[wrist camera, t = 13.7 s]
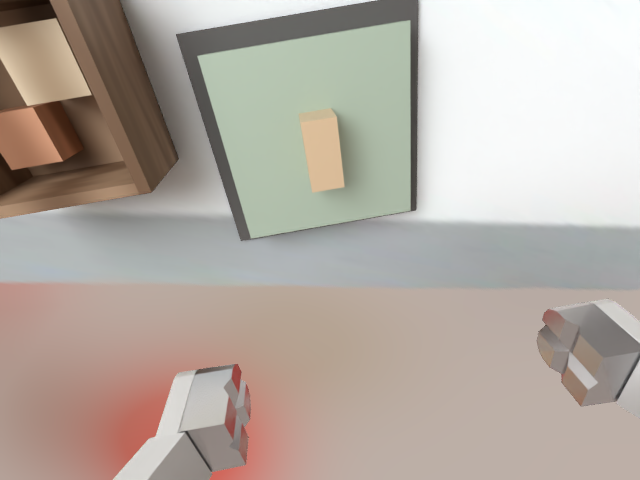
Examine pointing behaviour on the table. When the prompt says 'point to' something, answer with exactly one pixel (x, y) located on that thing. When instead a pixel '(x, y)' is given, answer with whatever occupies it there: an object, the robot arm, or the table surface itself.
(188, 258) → the table surface
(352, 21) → the black mat
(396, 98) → the green lid
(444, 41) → the table surface
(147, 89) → the walnut box
